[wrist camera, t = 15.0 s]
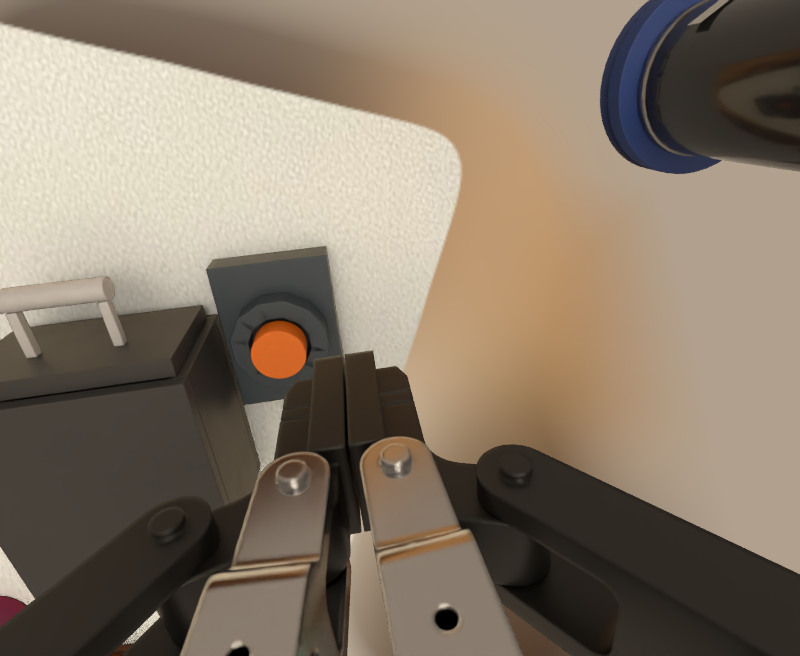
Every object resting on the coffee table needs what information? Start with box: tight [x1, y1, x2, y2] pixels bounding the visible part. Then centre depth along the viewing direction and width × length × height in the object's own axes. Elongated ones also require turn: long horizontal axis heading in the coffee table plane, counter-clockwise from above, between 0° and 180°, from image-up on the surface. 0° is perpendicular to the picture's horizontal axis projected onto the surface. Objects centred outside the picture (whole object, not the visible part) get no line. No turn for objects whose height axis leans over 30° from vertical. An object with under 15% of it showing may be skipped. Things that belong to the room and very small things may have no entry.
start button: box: [251, 321, 307, 379], centre depth 32 cm, size 4×4×2 cm
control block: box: [206, 246, 343, 405], centre depth 34 cm, size 11×8×4 cm
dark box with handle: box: [0, 276, 207, 403], centre depth 31 cm, size 18×12×8 cm
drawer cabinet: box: [0, 314, 260, 599], centre depth 33 cm, size 15×14×10 cm
